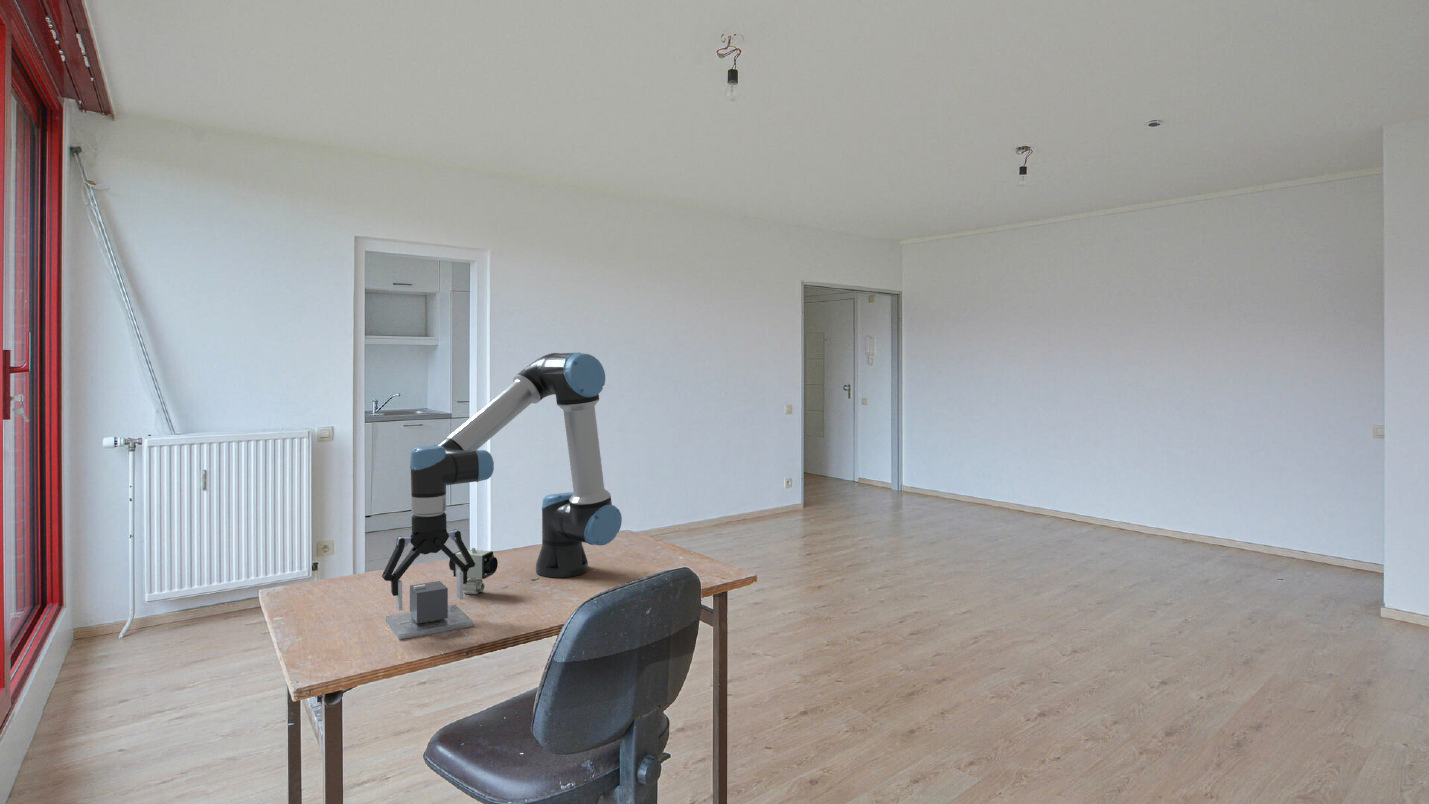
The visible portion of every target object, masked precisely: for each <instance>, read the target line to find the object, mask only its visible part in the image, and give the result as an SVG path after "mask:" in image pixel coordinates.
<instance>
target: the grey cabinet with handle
mask: <svg viewBox="0 0 1429 804" xmlns="http://www.w3.org/2000/svg"><path fill="white" fill-rule="evenodd" d="M448 589H449V588H448V587H447V586H446V585H445V584H444V583H443V582H442V581H440V580H437V581H431V582H424V583H417V584H410V585H409V612H410V616H411V617H412V618H413V619H414V621H415V622H416V623H423V622H428V621H434V620H439V619H445V618H448V606H449V599H448V598H449V597H448V596H449V594H448V592H449V590H448Z"/></svg>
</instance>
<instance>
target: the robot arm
mask: <svg viewBox="0 0 1429 804" xmlns="http://www.w3.org/2000/svg"><path fill="white" fill-rule="evenodd" d="M605 383H606V371H605V368H604V366H603V365H602V363H601V362H600V360H599V359H597V358H596V357H595V356H594V355H592V354H589V353H584V352H583V353H582V352H561V353H560V352H553V353H549V354H545V355H543V356H541V357H538V358H537V359H536V360H534V361H533V362H531V363H530V364H528V365H527V366H526V367H525V368H523V369H522V370H520V371H519V373H517V374H516V375H515V376H514V377H513V379H512V383H511V384H509V385H508V386H507V387H506V388H505V389H503V391H501V392H500V393H498V395H496V396H495V397H494V398H493V399H491V400H490V401H489V402H488V403H487V404H485V405H484V406H483V407H482V408H480V409H479V410H477V412H476V413H474V414H473V415H472V416H470V418H469V419H467V420H466V421H465V422H464V423H462V424H461V425H460V426H459V427H457V428H456V429H455V430H454V431H453V432H452V433H450V434H449V435H448V436H447V437H445V438H444V439H443V440H441V441H440V442H439V443H437V445H436V444H435V445H423V446H422V445H421V446H417V447H415V448H413V449H412V451H411V453H410V464H409V465H410V466H409V469H410V486H411V487H410V490H411V513H412V515H411V535H410V537H404V536H398V537H397V538H396V546H395V548H394V550H393V552H392V554H391V556H390V558H389V560H388V562H387V564H386V566H385V569H384V570H383V572H382V575H381V577H382V579H383V580H384V581H386V582H390V588H391V592H390V593H391V594H392V596H393V597H395V598H396V599H395V600H396V602H395V603H396V605H395V606H396V609H397V610H398V612H399V611H403V609H404V608H403V581H402V580H401V578H402V576H403V575H404V574H405V573H406V571H407V570H408V569H409V568H410V566H411V565H412V564H413V563H414V561H415V560H416V559H418V557H419V556H420V555H428V554H431V553H432V554H437V553H439V552H440V551H442V552H443V553H444V554H445V555H446V556H447V557H449V560H450V559H451V560H452V561H453V562H454V563H455V564H456V565H457V566H459V567H460V569H459V570H457V577H456V598H458V599H459V600H461V601H462V600H464V590H463V584H467V581H468V579H467V571H468V570H469V568H471V567H474V566H475V562H474V561H473V559H472V557H471V555H470V554H469V552H468V550H469V549H468V548H467V547H466V545H465V544H464V541H463V540H462V533H461V531H460V530H458V529H457V528H454V529H453V530H452V531H448V529H447V513H446V511H447V486H452V485H458V484H459V485H460V484H467V483H475V482H476V483H478V482H481V481H482V482H483V481H487V480H489V479H490V478H491V477H492V476H493V473H494V469H495V467H494V466H495V465H494V464H495V463H494V462H495V461H494V459H493V456H492V454H491V453H490V452H489V451H488V450H486V449H480V448H481V447H482V446H483V445H484V444H486V443H487V442H489V440H490V439H492V438H493V437H494V436H495V435H496V434H498V432H500V431H501V430H502V429H503V428H504V427H506V426H507V425H508V424H509V423H511V421H513V420H514V419H515V418H516V417H517V416H519V414H521V413H522V412H523V411H524V410H525V409H526V408H528V407H529V406H530V405H531V404H538V403H539V402H540V401H542V400H543V399H544V398H547V397H548V396H552V395H555V400H556V405H557V406H558V407H559V408H560V409H562V410H563V411H562V412H563V417H564V425H565V426H564V428H565V432H566V443H567V450H568V457H569V466H570V474H571V481H572V483H571V484H572V489H573V492H571V491H570V492H559V493H553V494H552V493H551V494H547V495H546V496H544V497H543V499H542V505H541V506H542V507H541V517H542V518H541V520H542V521H541V525H542V526H541V528H542V529H541V530H542V531H541V532H542V533H541V534H542V535H541V537H542V538H541V539H542V540H541V548H540V551H539V553H538V554H539V555H538V557H537V560H536V563H535V573H536V574H537V575H539V576H543V577H547V578H570V577H575V576H579V575H583V574H585V573H586V572H588V571H589V561H588V558H587V555H586V552H585V549H584V545H583V543H585V544H588V545H591V546H598V547H599V546H605V545H607V544H610V543H611V542H612V541H614V540H615V538H616V537H617V534H619V532H620V529H621V527H622V521H623V519H622V517H623V516H622V512H621V511H620V509H619V508H618V507H617V506H616V505H613V503H612V494H611V492H609V491H608V490H607V489H605V482H604V474H603V466H602V458H601V449H600V441H599V433H598V432H599V431H598V424H597V415H596V408H595V407H596V405H597V404H598V402H599V401H600V395H599V394H600V393H601V392H602V391H603V389H604V386H605V385H606V384H605ZM479 449H480V450H479ZM449 538H450V539H451V540H452V541H454V543H455V545H456V546H457V548H458V550H459V551H460V552H461V553H462V555H463V557H464V559H465V560H466V563H463V562H462V561H461V560H460V559H459V558H458V557H457V556H456V555H455V554H454V553H455V552H453V551H452V550H450V548H449V547H448V546H446V543H447V541H448V540H449ZM408 544H411V545H412V546H413V547H412V548H411V549H410V550H409V552H408V554H407V555H406V556H405V558H404V559H403V560H402V561H401V562H400V564H399V565H398V562H399V560H400V559H401V557H402V555H403V553H404V549H405V548H406V547H408ZM397 565H398V566H397ZM396 567H397V568H396Z"/></svg>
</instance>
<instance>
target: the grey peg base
mask: <svg viewBox="0 0 1429 804" xmlns="http://www.w3.org/2000/svg"><path fill="white" fill-rule="evenodd" d="M385 622H386V623H387V625H388V627H389V628H390V629H391V631H392V633H394V635H395V636H396V638H397V639H398V640H399V641H401V640H405V639H410V638H417V637H421V636H427V635H432V634H437V633H442V632H443V633H444V632H449V631H452V630H458V629H463V628H469V627H473V625H474V621H473V619H471V618H470V617H469V616H468V615H467V614H466V613H465V612H464V611H463V610H462V609H461V608H460V607H459V606H458V605H457V604H455V603H454V604H448V618H445V619H439V620H434V621H428V622H423V623H416V622H415V621H414V619H413V618H412V617H411V616H410V611H409V612H401V613H397V614H390V615H386V616H385Z"/></svg>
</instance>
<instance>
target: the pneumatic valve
mask: <svg viewBox="0 0 1429 804" xmlns="http://www.w3.org/2000/svg"><path fill="white" fill-rule="evenodd" d="M467 550H468V552H469V554H470V555H471V557H472V559H473V561H474V562H475V566H474V567H471V568H469V570H468V571H467V584H463V594H464V595H472V596H473V595H474V596H477V595H478V594H479V593H481V592H484V589H485V583H484V581H483V580H485V579H487V578H490V576H493V575H494V574H495V573H496V572H497V569H498V567H499V566H498V562H499V561H498V558H497V557H496V556H495V555H494V551H491V550H483V549H481V550H479V549H476V548H475V547H472V548H471V549H467ZM453 553H454V554H455V555H456V556H457V557H458V558H459V559H460V560H461V561H462V562H463V563H466V560H465V559H464V557H463V555H462V553H461V552H460V550H459V551H456V552H453ZM448 567H449V569H450V571H452V573H453V577H455V578H457V570H459V569H460V567H459V566H457V565H456V564H455V563H454V562H453V561H452V560H451V559H450V558H449V562H448Z"/></svg>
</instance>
